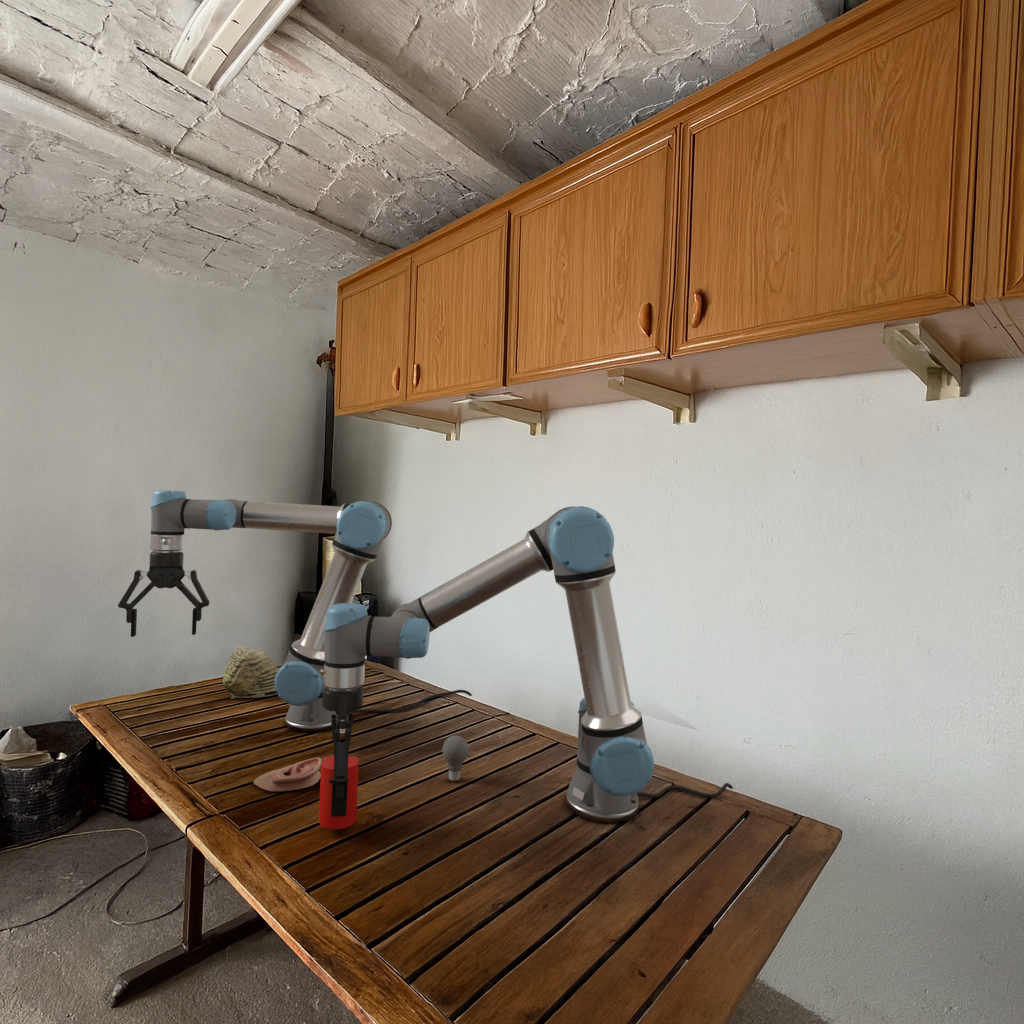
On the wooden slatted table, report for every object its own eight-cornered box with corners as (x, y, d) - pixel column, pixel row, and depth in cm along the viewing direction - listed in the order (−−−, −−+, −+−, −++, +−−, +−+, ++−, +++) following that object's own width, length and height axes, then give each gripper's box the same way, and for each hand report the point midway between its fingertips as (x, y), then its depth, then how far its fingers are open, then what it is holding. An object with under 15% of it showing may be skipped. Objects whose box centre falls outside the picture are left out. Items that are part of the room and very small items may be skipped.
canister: (330, 808, 125) (332, 752, 125) (362, 814, 123) (364, 756, 123) (311, 826, 118) (314, 766, 118) (345, 831, 117) (348, 771, 117)
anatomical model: (245, 769, 136) (276, 749, 147) (245, 787, 136) (275, 766, 147) (302, 777, 133) (328, 756, 144) (301, 796, 133) (328, 773, 144)
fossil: (218, 695, 195) (220, 647, 195) (278, 685, 208) (279, 640, 207) (228, 703, 189) (230, 653, 188) (289, 692, 201) (290, 645, 201)
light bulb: (441, 773, 147) (443, 731, 147) (467, 774, 147) (469, 731, 147) (440, 785, 141) (442, 741, 141) (467, 785, 141) (469, 741, 141)
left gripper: (106, 552, 152) (103, 639, 153) (220, 553, 161) (217, 636, 162) (113, 549, 159) (110, 633, 160) (222, 550, 168) (219, 629, 169)
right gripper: (324, 672, 129) (319, 783, 129) (321, 703, 110) (316, 834, 110) (361, 671, 131) (357, 781, 131) (365, 701, 112) (360, 830, 112)
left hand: (164, 634), depth 161 cm, fingers open, 13 cm apart
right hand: (338, 805), depth 121 cm, fingers closed on canister, 7 cm apart
